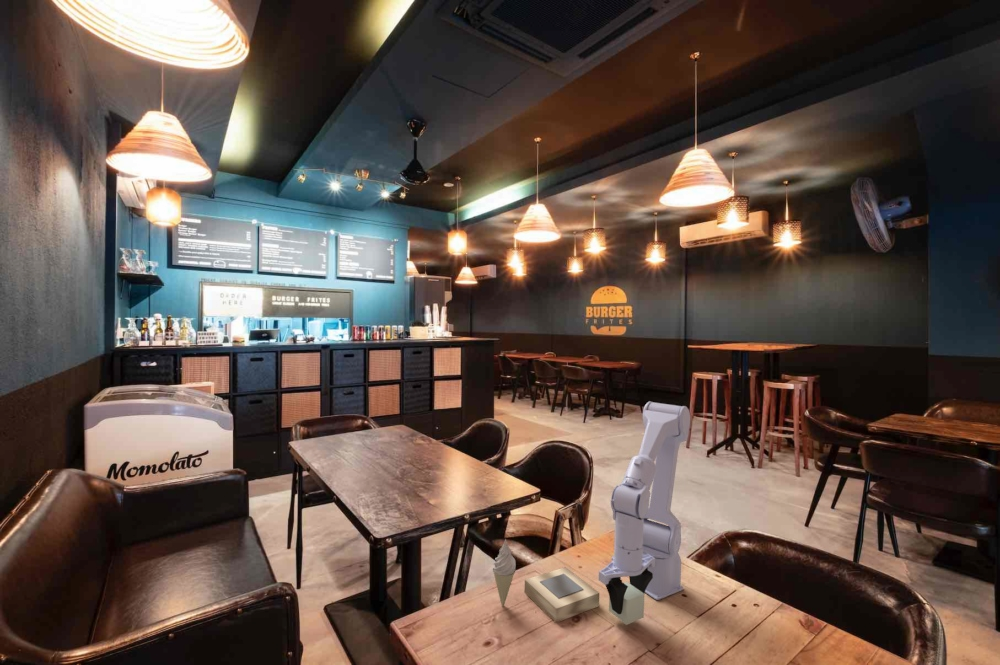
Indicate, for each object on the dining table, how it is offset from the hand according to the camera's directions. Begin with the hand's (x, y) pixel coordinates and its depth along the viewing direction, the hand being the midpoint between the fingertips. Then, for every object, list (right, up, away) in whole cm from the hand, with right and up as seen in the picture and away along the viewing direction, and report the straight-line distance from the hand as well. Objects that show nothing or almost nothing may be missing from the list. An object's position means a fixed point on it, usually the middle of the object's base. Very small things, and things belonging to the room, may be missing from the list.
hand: (626, 607), depth 95 cm
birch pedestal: (-13, -3, +8) cm, 15 cm away
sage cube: (0, -1, 0) cm, 1 cm away
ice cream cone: (-26, -3, +5) cm, 27 cm away
